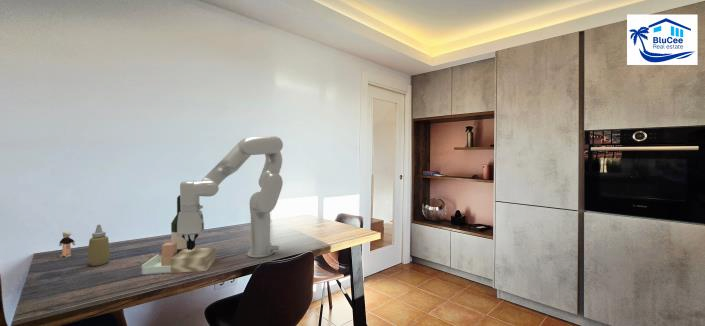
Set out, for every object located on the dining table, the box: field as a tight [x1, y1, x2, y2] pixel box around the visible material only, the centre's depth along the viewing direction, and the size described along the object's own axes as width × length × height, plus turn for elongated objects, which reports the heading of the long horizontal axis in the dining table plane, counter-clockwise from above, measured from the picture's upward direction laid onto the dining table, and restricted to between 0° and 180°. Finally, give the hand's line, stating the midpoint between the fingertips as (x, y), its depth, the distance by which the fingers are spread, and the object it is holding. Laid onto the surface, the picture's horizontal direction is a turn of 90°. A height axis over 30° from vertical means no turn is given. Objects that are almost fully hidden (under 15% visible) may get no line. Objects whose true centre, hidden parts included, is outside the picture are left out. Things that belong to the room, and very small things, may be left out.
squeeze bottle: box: [86, 224, 111, 267], centre depth 133 cm, size 8×8×18 cm
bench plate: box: [170, 246, 217, 274], centre depth 131 cm, size 14×14×6 cm
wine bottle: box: [170, 195, 192, 254], centre depth 146 cm, size 8×8×30 cm
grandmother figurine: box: [58, 230, 76, 258], centre depth 144 cm, size 8×4×13 cm, turn 102°
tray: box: [141, 254, 172, 276], centre depth 128 cm, size 11×14×4 cm
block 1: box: [161, 242, 177, 257], centre depth 129 cm, size 5×4×4 cm
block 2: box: [160, 255, 175, 266], centre depth 129 cm, size 5×4×4 cm
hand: (190, 249), depth 130 cm, fingers closed
